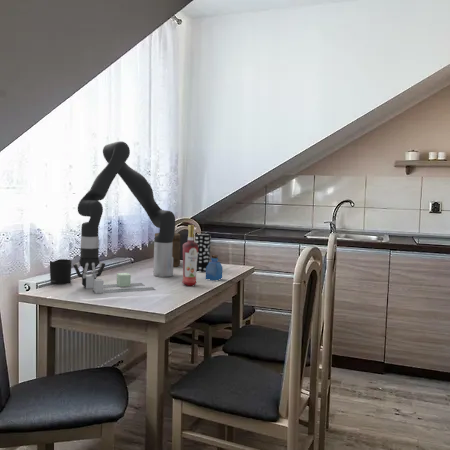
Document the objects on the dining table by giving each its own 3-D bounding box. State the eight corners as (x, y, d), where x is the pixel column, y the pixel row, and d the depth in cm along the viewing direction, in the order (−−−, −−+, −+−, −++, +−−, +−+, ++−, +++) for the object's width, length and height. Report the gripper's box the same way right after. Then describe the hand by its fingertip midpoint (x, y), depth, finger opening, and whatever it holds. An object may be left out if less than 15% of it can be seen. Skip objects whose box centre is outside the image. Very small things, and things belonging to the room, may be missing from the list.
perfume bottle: (222, 279, 243) (223, 255, 242) (216, 281, 237) (217, 256, 236) (211, 277, 245) (211, 254, 244) (205, 279, 240) (206, 255, 239)
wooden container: (152, 263, 282) (153, 225, 280) (177, 263, 286) (178, 226, 284) (156, 267, 267) (157, 228, 266) (182, 267, 272) (183, 228, 270)
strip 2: (152, 288, 213) (152, 275, 213) (156, 291, 208) (156, 278, 208) (92, 292, 202) (92, 278, 202) (94, 295, 197) (95, 281, 196)
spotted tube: (207, 272, 258) (208, 235, 257) (192, 271, 260) (193, 234, 258) (211, 270, 267) (212, 234, 265) (196, 269, 268) (197, 233, 267)
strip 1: (141, 284, 221) (141, 272, 221) (145, 287, 216) (145, 274, 216) (83, 287, 210) (83, 274, 210) (85, 290, 205) (85, 277, 205)
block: (127, 283, 218) (127, 272, 218) (130, 286, 214) (130, 274, 213) (116, 284, 216) (116, 273, 216) (119, 286, 212) (119, 275, 211)
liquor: (185, 287, 220) (187, 226, 218) (178, 283, 227) (180, 224, 224) (199, 286, 224) (201, 226, 221) (193, 283, 230) (195, 224, 228)
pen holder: (49, 281, 222) (49, 259, 221) (70, 280, 226) (70, 259, 225) (50, 285, 214) (50, 262, 213) (72, 284, 217) (72, 262, 216)
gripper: (104, 245, 213) (103, 283, 215) (71, 245, 207) (70, 285, 209) (107, 247, 207) (107, 287, 208) (73, 248, 201) (73, 289, 202)
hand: (88, 286), depth 208 cm, fingers closed on strip 1, 3 cm apart
